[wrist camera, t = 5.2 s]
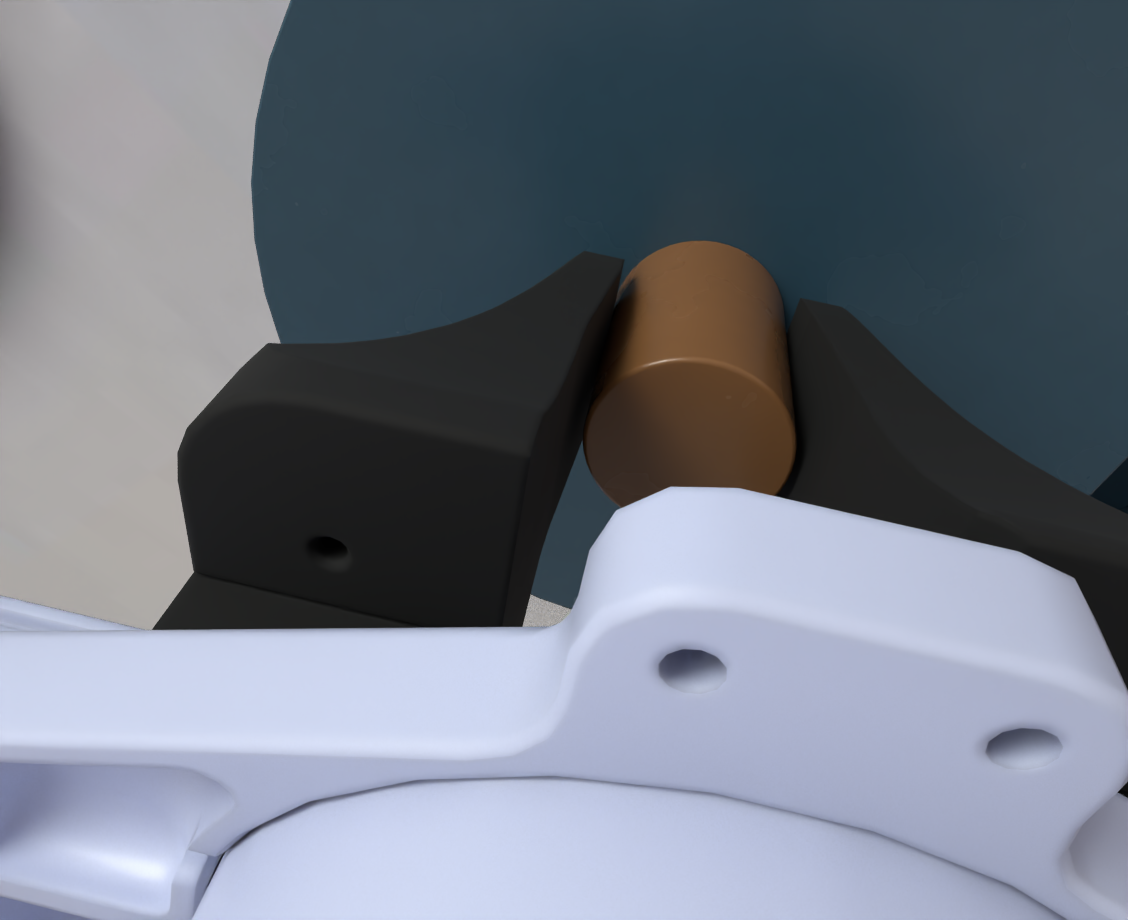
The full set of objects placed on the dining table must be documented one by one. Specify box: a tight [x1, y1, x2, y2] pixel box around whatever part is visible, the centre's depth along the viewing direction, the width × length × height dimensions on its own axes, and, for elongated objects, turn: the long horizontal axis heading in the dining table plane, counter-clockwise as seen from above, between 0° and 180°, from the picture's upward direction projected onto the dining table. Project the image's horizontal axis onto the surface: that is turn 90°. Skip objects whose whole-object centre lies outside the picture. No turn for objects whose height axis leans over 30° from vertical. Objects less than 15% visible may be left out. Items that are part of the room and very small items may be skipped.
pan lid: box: [251, 0, 1128, 609], centre depth 12 cm, size 14×14×5 cm
